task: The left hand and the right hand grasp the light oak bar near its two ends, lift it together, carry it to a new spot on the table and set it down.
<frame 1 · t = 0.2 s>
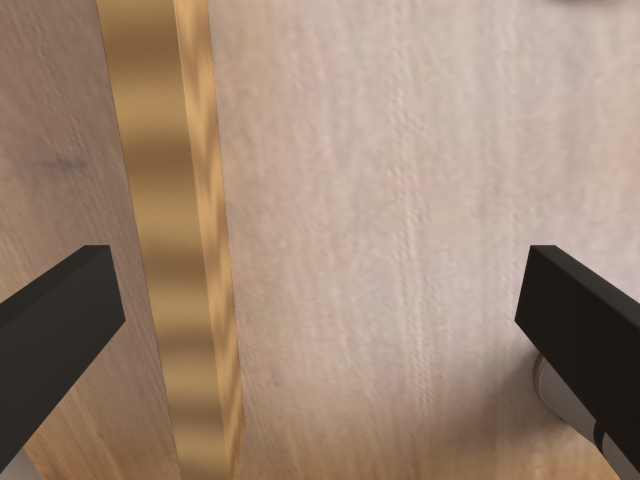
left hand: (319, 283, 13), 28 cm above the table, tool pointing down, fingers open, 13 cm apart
bar: (202, 231, 41), on the table
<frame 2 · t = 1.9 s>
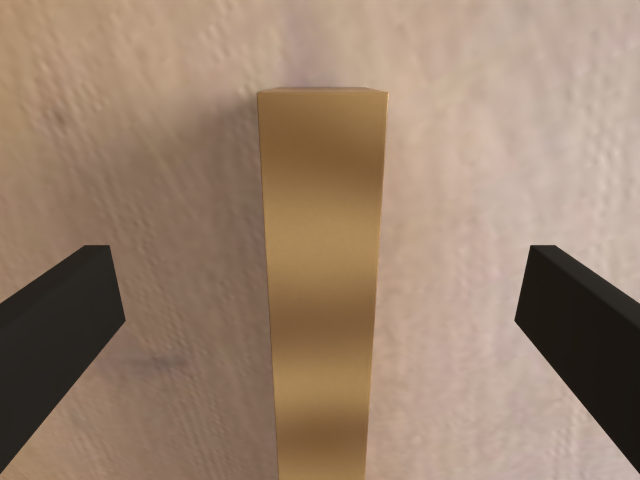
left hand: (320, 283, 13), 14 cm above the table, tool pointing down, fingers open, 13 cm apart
bar: (321, 428, 34), on the table
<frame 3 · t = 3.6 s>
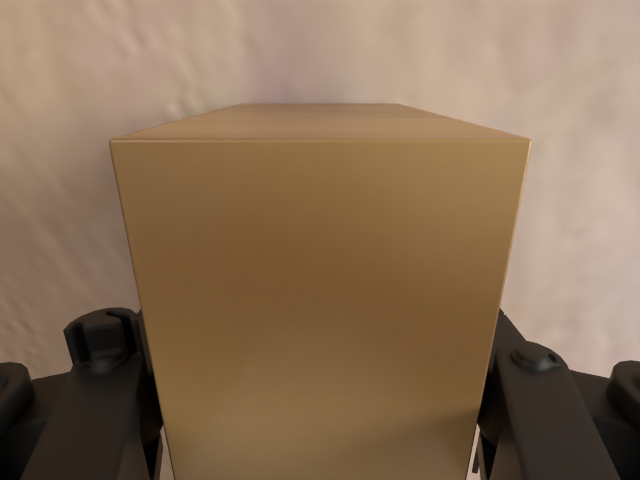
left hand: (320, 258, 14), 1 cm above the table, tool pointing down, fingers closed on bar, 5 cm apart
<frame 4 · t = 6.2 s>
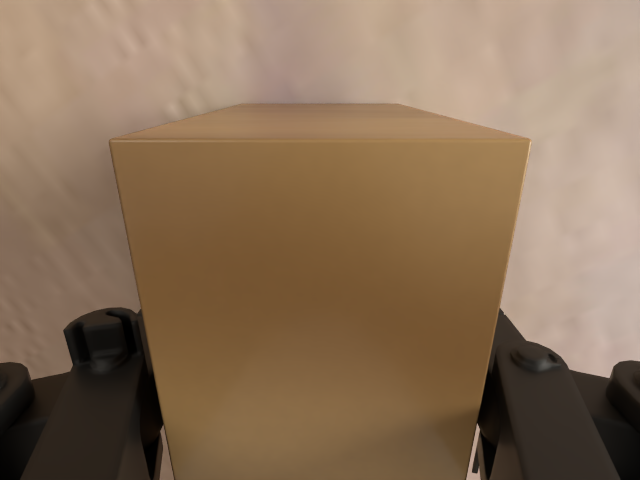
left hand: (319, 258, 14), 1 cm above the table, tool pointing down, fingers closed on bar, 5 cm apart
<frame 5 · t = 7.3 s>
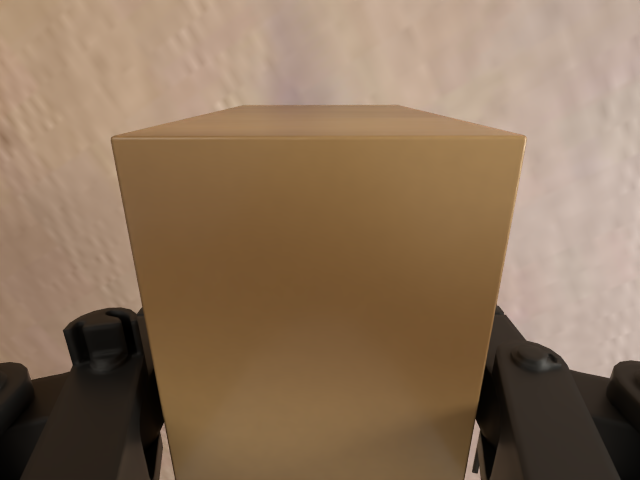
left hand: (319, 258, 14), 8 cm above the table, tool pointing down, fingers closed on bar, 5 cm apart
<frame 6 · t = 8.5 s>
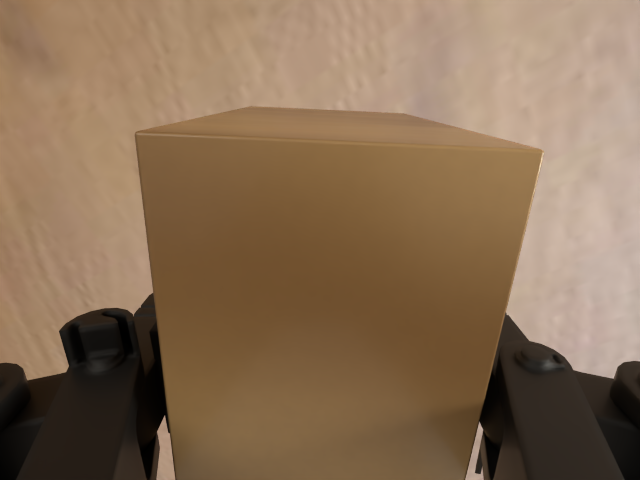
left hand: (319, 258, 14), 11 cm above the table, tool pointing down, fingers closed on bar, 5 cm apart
when the left hand's fingers open (2 cm above the table, at t = 10.8 s): bar stays where it is, on the table.
when the right hand's fingers open (2 cm above the table, at t = 10.9 s): bar stays where it is, on the table.
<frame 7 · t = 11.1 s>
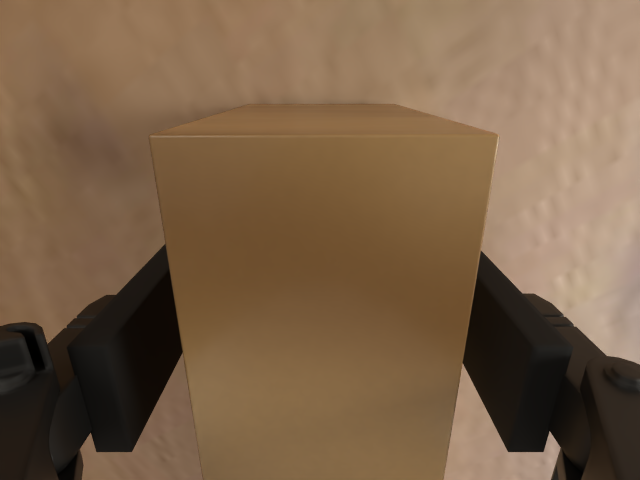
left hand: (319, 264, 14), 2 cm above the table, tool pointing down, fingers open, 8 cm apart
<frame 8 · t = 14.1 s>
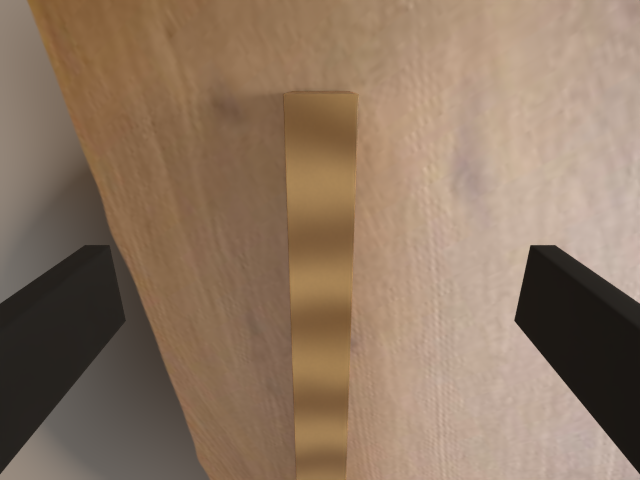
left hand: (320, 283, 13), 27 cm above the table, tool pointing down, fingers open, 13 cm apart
bar: (320, 345, 45), on the table
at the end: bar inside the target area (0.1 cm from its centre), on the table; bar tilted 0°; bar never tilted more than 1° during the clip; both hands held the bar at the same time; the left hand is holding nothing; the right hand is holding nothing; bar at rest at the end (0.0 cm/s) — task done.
